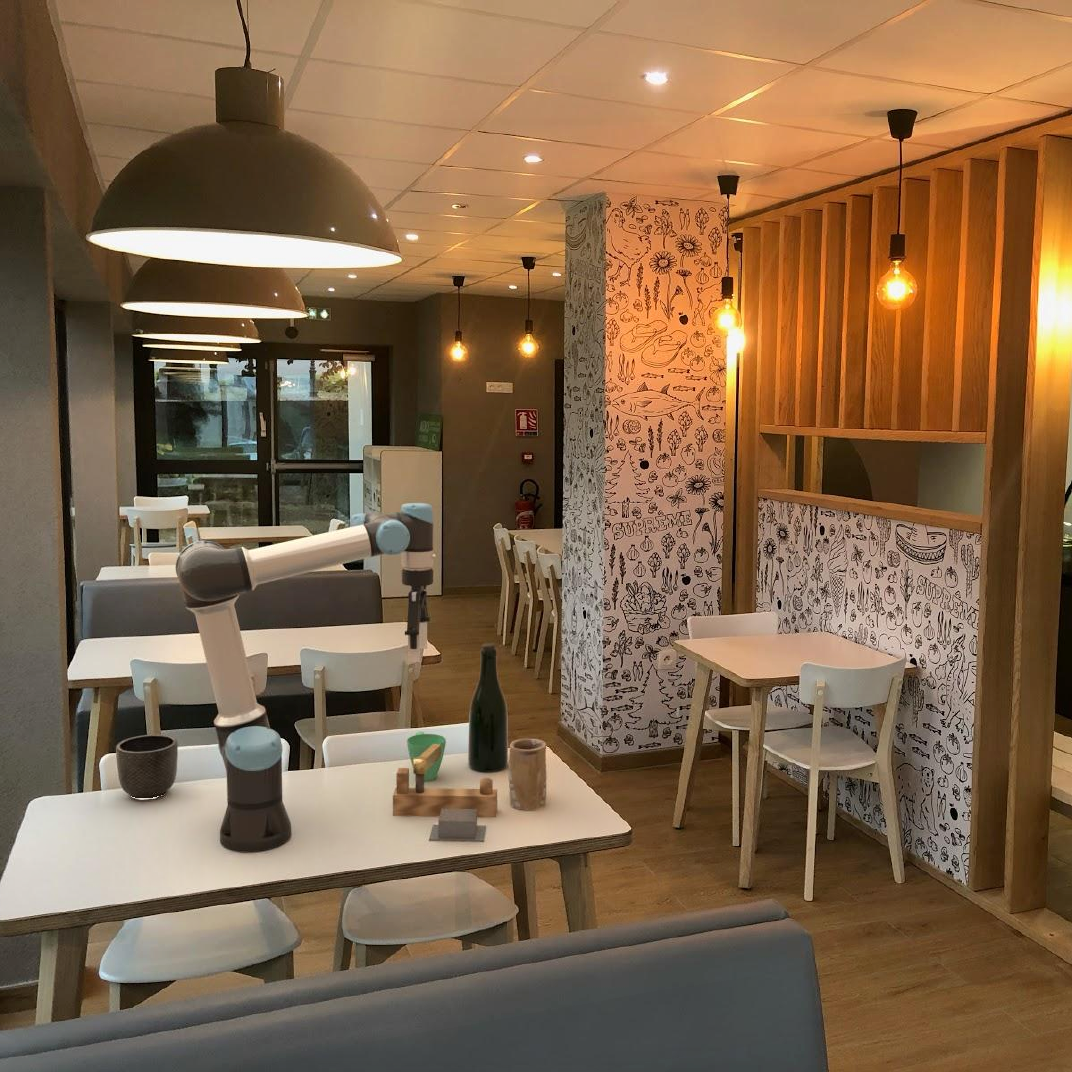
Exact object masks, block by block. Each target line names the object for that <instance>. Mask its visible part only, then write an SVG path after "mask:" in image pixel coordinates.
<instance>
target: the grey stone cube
mask: <svg viewBox="0 0 1072 1072" xmlns="http://www.w3.org/2000/svg"><path fill="white" fill-rule="evenodd" d="M438 817H439V818H438V820H437V822H438V823H437V825H438V838H443V839H475V835H476V829H477V825H478V817H477V809H441V813H440V816H438Z"/></svg>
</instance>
